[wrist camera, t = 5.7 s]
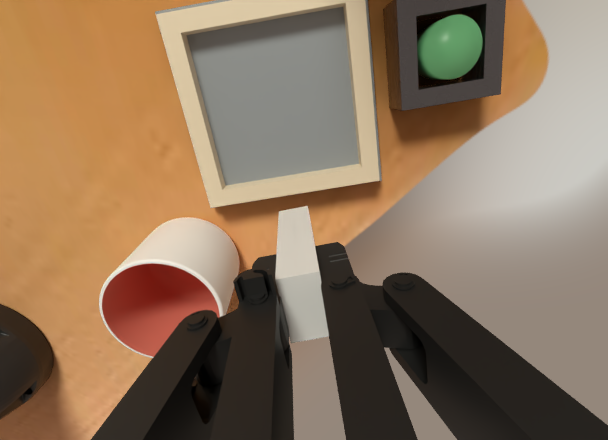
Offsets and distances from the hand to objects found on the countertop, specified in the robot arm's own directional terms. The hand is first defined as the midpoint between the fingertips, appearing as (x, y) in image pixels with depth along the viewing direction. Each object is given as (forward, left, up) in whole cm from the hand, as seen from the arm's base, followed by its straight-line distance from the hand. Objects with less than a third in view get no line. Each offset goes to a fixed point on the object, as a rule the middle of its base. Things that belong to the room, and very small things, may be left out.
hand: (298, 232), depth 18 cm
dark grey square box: (+13, +8, -17) cm, 23 cm away
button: (+13, +8, -16) cm, 22 cm away
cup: (-13, -8, -17) cm, 23 cm away
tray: (-1, +6, -17) cm, 18 cm away
